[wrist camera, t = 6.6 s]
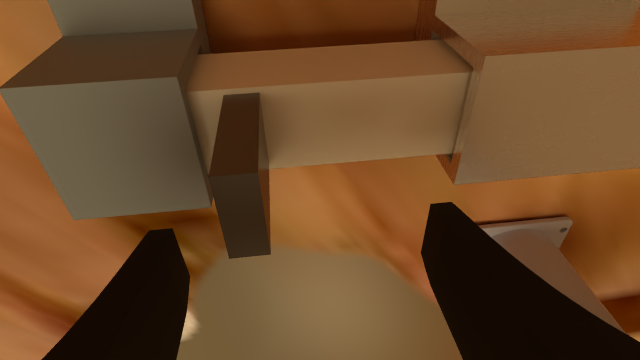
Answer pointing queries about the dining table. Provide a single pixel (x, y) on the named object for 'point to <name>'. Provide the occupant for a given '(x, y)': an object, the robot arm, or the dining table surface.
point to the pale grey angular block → (316, 117)
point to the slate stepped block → (117, 107)
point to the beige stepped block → (542, 85)
